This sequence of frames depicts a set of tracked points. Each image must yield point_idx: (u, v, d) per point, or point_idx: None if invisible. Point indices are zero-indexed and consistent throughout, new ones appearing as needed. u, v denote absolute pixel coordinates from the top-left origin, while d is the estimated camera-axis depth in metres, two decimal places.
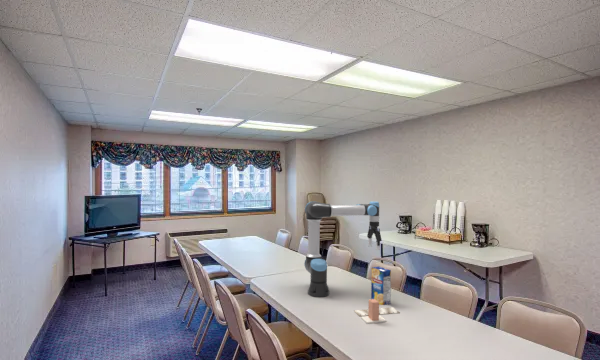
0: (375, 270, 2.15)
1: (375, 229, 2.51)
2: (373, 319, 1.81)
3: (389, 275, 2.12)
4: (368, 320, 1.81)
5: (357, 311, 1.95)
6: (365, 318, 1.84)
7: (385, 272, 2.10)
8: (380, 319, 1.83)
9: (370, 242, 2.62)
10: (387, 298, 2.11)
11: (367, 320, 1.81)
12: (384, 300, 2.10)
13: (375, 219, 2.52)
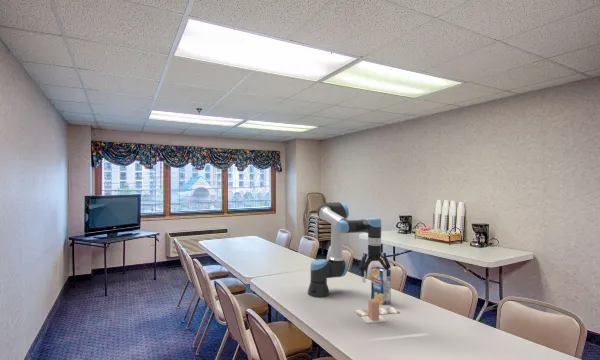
0: (375, 270, 2.15)
1: None
2: (373, 319, 1.81)
3: (389, 275, 2.12)
4: (368, 320, 1.81)
5: (357, 311, 1.95)
6: (365, 318, 1.84)
7: None
8: (380, 319, 1.83)
9: (384, 274, 1.90)
10: (387, 298, 2.11)
11: (367, 320, 1.81)
12: (384, 300, 2.10)
13: (368, 241, 1.89)
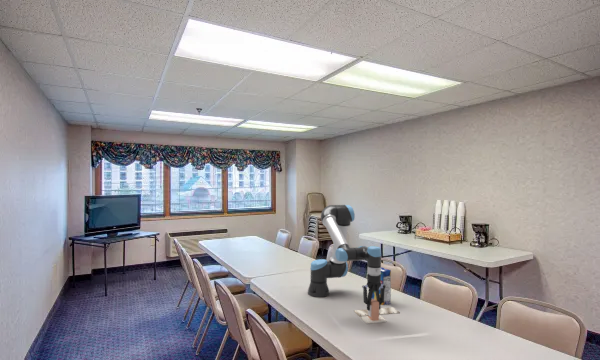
0: None
1: (367, 285, 1.84)
2: (373, 319, 1.81)
3: (389, 275, 2.12)
4: (368, 320, 1.81)
5: (357, 311, 1.95)
6: (365, 318, 1.84)
7: (385, 272, 2.10)
8: (380, 319, 1.83)
9: None
10: (387, 298, 2.11)
11: (367, 320, 1.81)
12: (384, 300, 2.10)
13: (367, 271, 1.84)
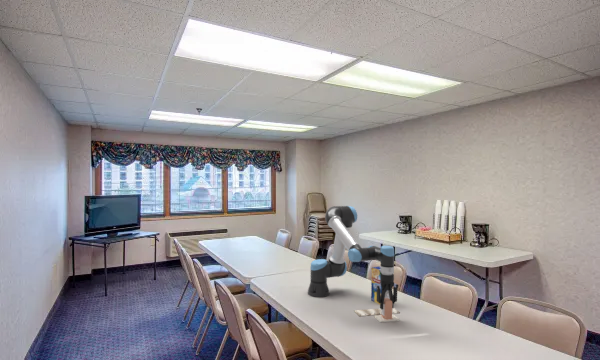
0: (375, 270, 2.15)
1: None
2: (386, 318, 1.83)
3: None
4: (381, 319, 1.83)
5: (357, 311, 1.95)
6: (378, 317, 1.86)
7: None
8: (393, 318, 1.85)
9: None
10: None
11: (380, 319, 1.83)
12: None
13: (380, 270, 1.86)
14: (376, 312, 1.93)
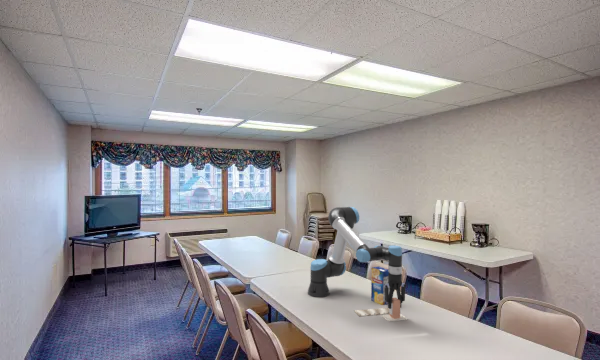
0: (375, 270, 2.15)
1: None
2: (394, 317, 1.84)
3: None
4: (389, 318, 1.84)
5: (357, 311, 1.95)
6: (386, 316, 1.87)
7: (385, 272, 2.10)
8: (401, 317, 1.86)
9: None
10: None
11: (389, 318, 1.84)
12: (384, 300, 2.10)
13: (388, 269, 1.87)
14: (376, 312, 1.93)
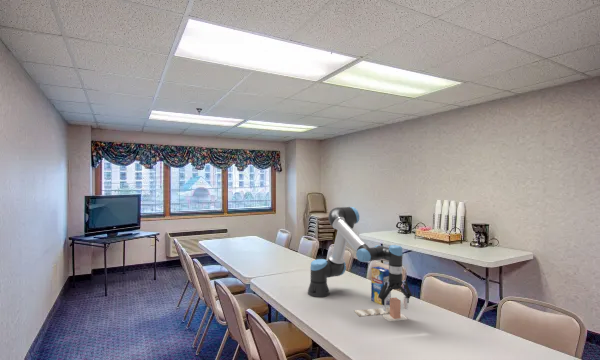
0: (375, 270, 2.15)
1: None
2: (395, 317, 1.84)
3: None
4: (390, 318, 1.84)
5: (357, 311, 1.95)
6: (387, 316, 1.87)
7: (385, 272, 2.10)
8: (401, 317, 1.86)
9: (405, 303, 1.89)
10: (387, 298, 2.11)
11: (389, 318, 1.84)
12: None
13: (389, 269, 1.87)
14: (376, 312, 1.93)
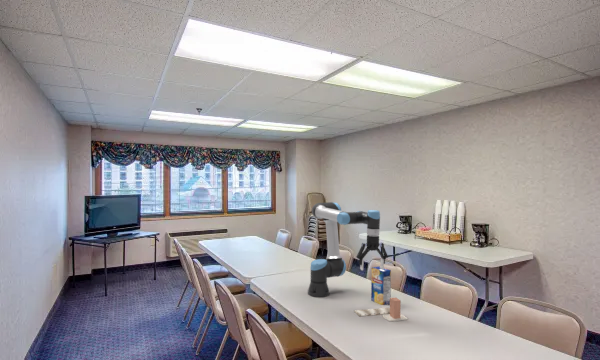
0: (375, 270, 2.15)
1: None
2: (395, 317, 1.84)
3: (389, 275, 2.12)
4: (390, 318, 1.84)
5: (357, 311, 1.95)
6: (387, 316, 1.87)
7: (385, 272, 2.10)
8: (401, 317, 1.86)
9: (381, 263, 2.02)
10: (387, 298, 2.11)
11: (389, 318, 1.84)
12: (384, 300, 2.10)
13: (367, 232, 2.00)
14: (376, 312, 1.93)
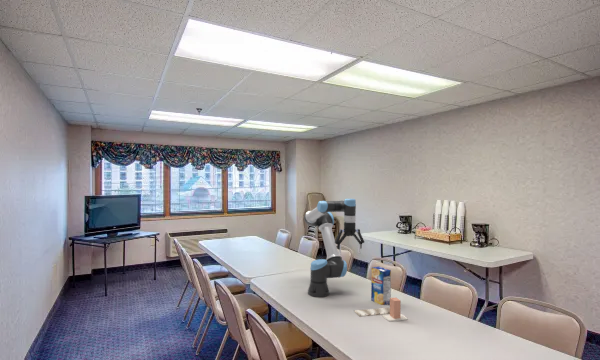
0: (375, 270, 2.15)
1: None
2: (395, 317, 1.84)
3: (389, 275, 2.12)
4: (390, 318, 1.84)
5: (357, 311, 1.95)
6: (387, 316, 1.87)
7: (385, 272, 2.10)
8: (401, 317, 1.86)
9: (358, 248, 2.16)
10: (387, 298, 2.11)
11: (389, 318, 1.84)
12: (384, 300, 2.10)
13: (344, 219, 2.15)
14: (376, 312, 1.93)
